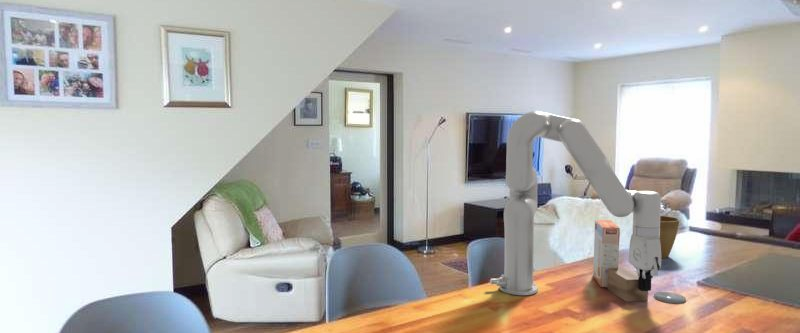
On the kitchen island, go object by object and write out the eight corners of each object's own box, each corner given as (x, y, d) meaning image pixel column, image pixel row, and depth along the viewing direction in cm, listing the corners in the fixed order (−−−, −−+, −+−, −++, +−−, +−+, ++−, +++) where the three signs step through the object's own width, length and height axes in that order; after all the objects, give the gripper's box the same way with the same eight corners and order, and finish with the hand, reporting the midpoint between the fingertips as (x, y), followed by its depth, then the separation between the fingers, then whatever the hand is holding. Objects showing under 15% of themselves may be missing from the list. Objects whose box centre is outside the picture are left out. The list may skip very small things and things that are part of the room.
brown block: (626, 301, 159) (626, 279, 159) (607, 289, 171) (608, 268, 171) (647, 300, 160) (648, 279, 159) (627, 288, 172) (628, 268, 171)
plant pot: (679, 254, 215) (680, 216, 213) (676, 262, 202) (678, 222, 201) (640, 249, 223) (641, 213, 221) (635, 257, 210) (636, 219, 209)
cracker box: (618, 289, 171) (620, 227, 169) (599, 287, 172) (601, 227, 171) (610, 276, 185) (611, 219, 183) (592, 275, 186) (594, 219, 184)
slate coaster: (665, 304, 157) (666, 302, 157) (647, 294, 166) (647, 292, 166) (692, 302, 158) (692, 300, 158) (672, 292, 167) (672, 291, 167)
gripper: (620, 227, 162) (619, 283, 164) (650, 237, 148) (648, 299, 149) (642, 226, 163) (641, 282, 165) (673, 236, 149) (671, 297, 150)
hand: (644, 289), depth 157 cm, fingers closed
